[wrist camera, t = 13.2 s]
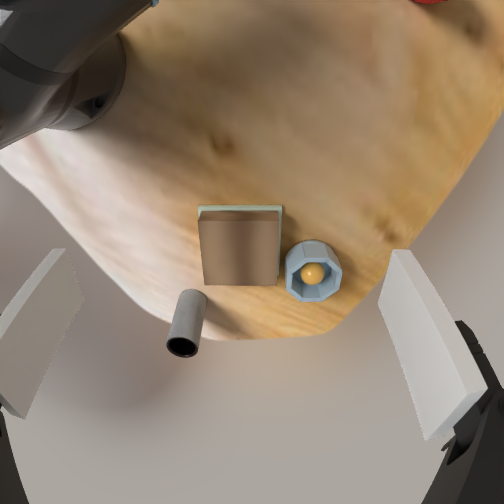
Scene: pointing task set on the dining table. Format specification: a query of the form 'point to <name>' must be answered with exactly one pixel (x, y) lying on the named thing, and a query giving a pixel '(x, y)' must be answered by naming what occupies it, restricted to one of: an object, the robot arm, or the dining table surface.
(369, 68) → the dining table surface
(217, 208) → the mat
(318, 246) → the bowl
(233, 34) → the dining table surface
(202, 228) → the cover
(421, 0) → the canned food
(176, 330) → the grey cylinder
